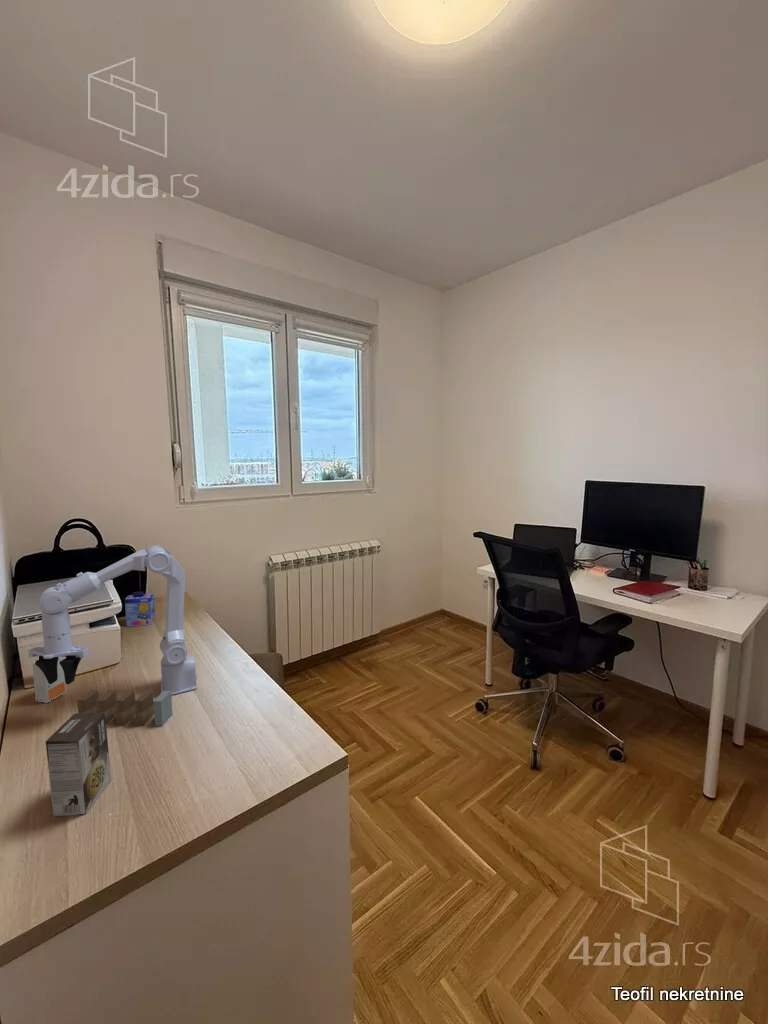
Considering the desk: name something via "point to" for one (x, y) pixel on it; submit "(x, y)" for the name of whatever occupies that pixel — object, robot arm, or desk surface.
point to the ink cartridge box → (139, 609)
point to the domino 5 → (162, 708)
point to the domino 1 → (88, 702)
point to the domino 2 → (107, 705)
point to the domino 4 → (144, 707)
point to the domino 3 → (125, 707)
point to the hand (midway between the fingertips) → (61, 682)
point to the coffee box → (78, 763)
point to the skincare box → (46, 690)
